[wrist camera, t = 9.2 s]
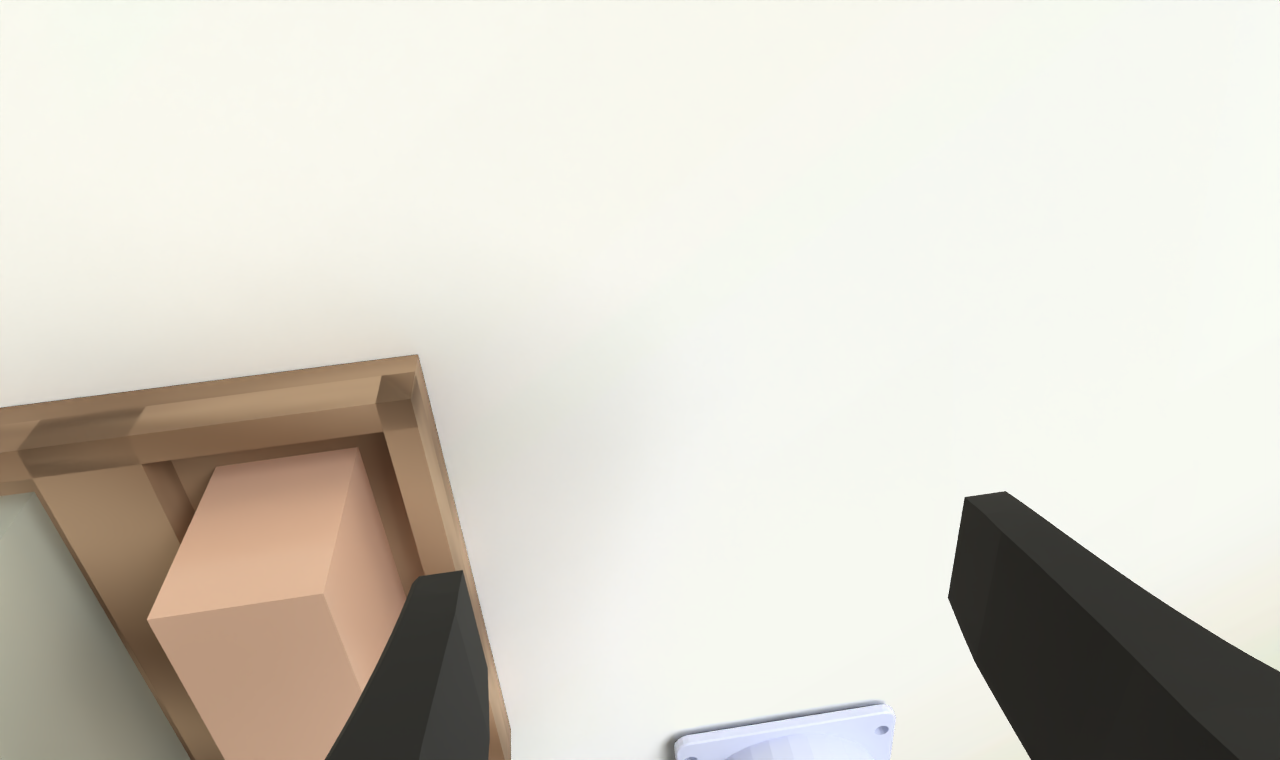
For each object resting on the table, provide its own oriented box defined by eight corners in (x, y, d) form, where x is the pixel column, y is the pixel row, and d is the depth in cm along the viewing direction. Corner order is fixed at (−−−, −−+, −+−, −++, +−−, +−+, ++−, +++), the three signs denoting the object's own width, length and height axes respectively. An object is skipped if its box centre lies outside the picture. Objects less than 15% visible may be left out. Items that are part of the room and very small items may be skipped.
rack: (510, 730, 30) (511, 783, 28) (55, 801, 29) (27, 862, 27) (418, 354, 22) (410, 398, 20) (-221, 436, 21) (-285, 490, 19)
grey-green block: (191, 761, 27) (135, 929, 23) (76, 779, 27) (-3, 953, 23) (34, 491, 21) (-80, 653, 17) (-116, 511, 21) (-269, 680, 17)
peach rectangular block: (445, 721, 28) (434, 878, 24) (334, 738, 28) (304, 901, 24) (358, 447, 22) (323, 593, 18) (215, 466, 22) (146, 619, 18)
